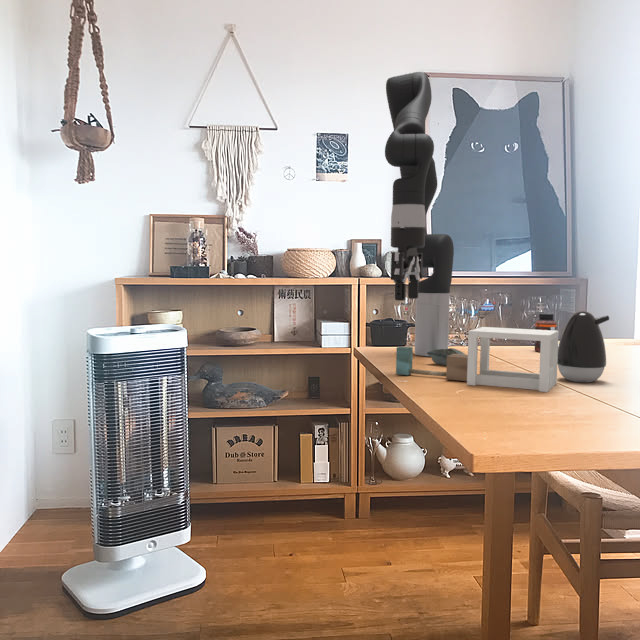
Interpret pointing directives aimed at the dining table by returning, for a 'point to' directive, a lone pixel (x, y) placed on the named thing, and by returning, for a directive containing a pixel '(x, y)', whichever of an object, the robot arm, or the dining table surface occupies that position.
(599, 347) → the pump dispenser
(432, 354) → the stone
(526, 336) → the white open frame stand
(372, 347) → the dining table surface
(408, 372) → the tethered block
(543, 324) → the supplement bottle
